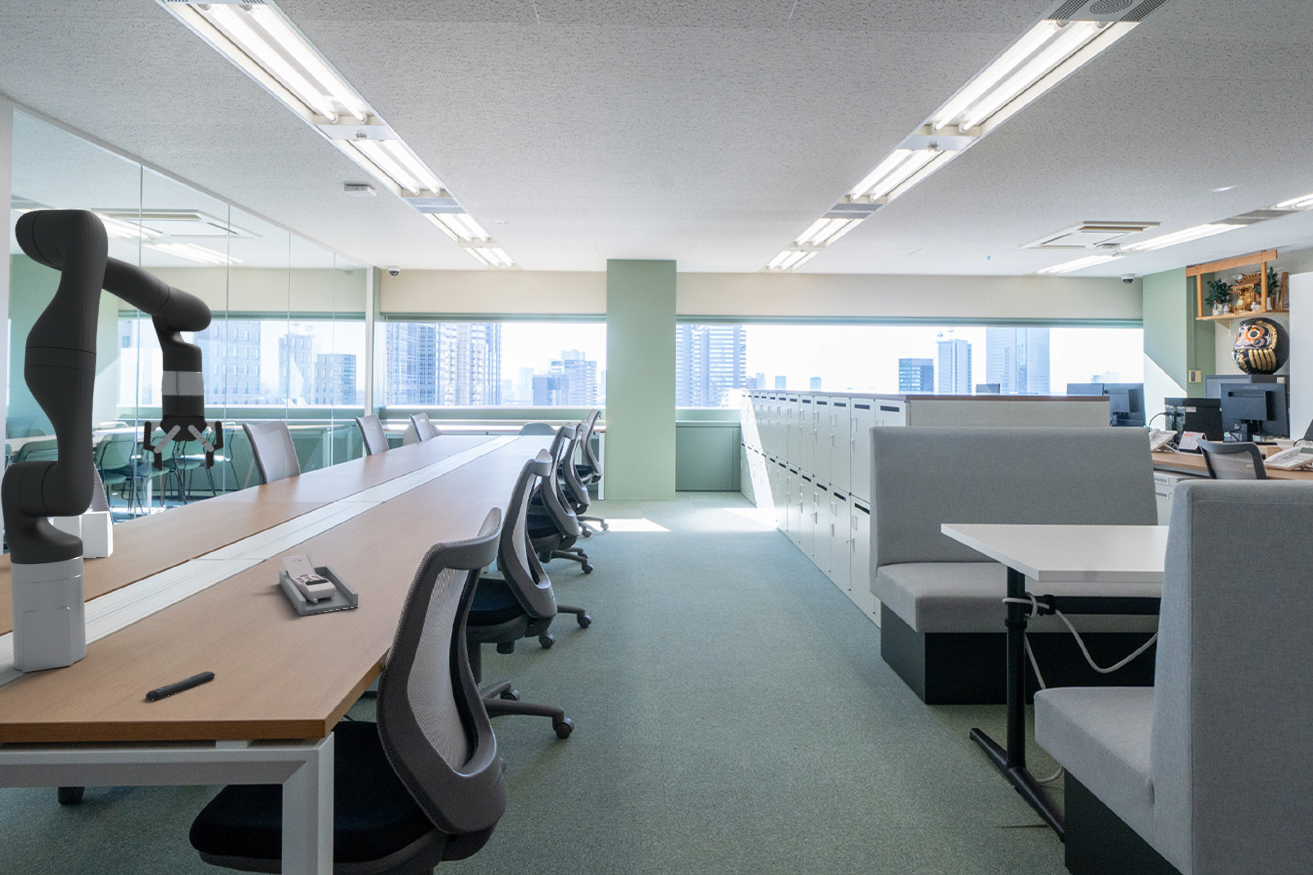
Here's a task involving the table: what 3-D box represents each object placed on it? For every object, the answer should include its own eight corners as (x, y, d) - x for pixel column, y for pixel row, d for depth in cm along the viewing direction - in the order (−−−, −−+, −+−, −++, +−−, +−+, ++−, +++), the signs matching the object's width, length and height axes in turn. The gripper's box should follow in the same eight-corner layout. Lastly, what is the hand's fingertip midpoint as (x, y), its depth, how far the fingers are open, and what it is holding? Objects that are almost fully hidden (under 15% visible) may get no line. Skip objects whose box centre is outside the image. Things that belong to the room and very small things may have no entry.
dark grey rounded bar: (205, 678, 117) (205, 668, 117) (217, 680, 116) (216, 671, 116) (144, 700, 108) (143, 690, 108) (155, 703, 107) (155, 693, 107)
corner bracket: (54, 563, 189) (53, 517, 188) (64, 555, 199) (63, 510, 198) (106, 559, 194) (104, 514, 193) (113, 551, 204) (111, 508, 203)
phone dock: (358, 607, 155) (358, 593, 155) (300, 615, 148) (300, 601, 148) (329, 577, 179) (329, 565, 179) (279, 583, 173) (279, 570, 173)
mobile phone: (308, 553, 175) (340, 573, 155) (309, 577, 175) (340, 600, 156) (280, 556, 171) (309, 577, 151) (281, 581, 171) (310, 606, 152)
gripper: (141, 393, 148) (143, 473, 149) (223, 394, 156) (224, 470, 157) (142, 392, 154) (144, 469, 155) (221, 393, 162) (222, 467, 163)
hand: (184, 470), depth 156 cm, fingers open, 8 cm apart
